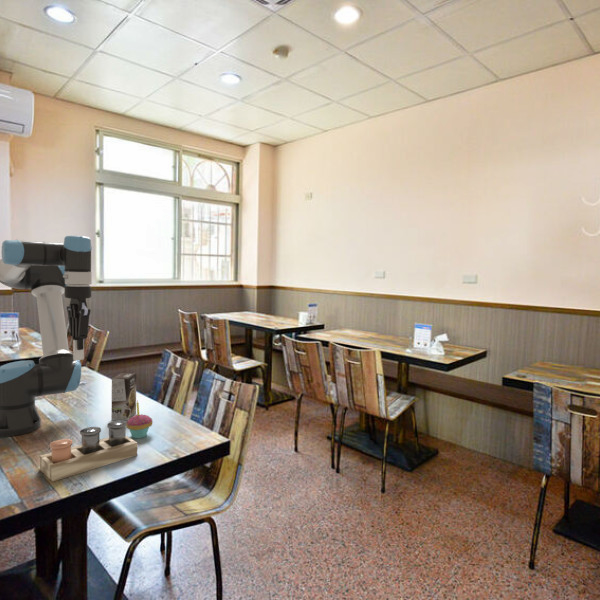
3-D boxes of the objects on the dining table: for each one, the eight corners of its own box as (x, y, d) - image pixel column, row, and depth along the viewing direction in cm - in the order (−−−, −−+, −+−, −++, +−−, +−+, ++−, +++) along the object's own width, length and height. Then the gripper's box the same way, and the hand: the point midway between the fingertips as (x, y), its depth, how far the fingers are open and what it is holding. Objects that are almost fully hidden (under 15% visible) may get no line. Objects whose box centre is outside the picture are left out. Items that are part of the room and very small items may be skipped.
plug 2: (104, 444, 133) (104, 423, 132) (121, 439, 137) (121, 419, 137) (112, 449, 129) (112, 428, 129) (130, 444, 133) (130, 423, 133)
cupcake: (122, 434, 148) (122, 401, 147) (145, 429, 154) (146, 396, 153) (132, 442, 142) (132, 407, 141) (156, 436, 148) (157, 402, 147)
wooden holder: (40, 469, 122) (39, 455, 122) (122, 445, 140) (122, 433, 139) (52, 481, 115) (52, 467, 115) (137, 455, 133) (137, 442, 133)
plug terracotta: (47, 465, 121) (47, 442, 121) (68, 459, 125) (68, 437, 125) (54, 472, 117) (54, 448, 117) (75, 465, 122) (75, 443, 121)
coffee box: (127, 420, 162) (127, 378, 161) (110, 420, 162) (110, 378, 161) (136, 412, 171) (137, 372, 170) (120, 412, 171) (120, 372, 170)
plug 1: (77, 451, 127) (76, 430, 126) (96, 446, 131) (96, 425, 131) (84, 457, 123) (84, 435, 123) (104, 451, 127) (104, 430, 127)
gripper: (57, 284, 136) (58, 357, 138) (73, 286, 127) (74, 364, 129) (82, 284, 142) (82, 354, 143) (99, 286, 133) (99, 361, 135)
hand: (78, 359), depth 136 cm, fingers closed
